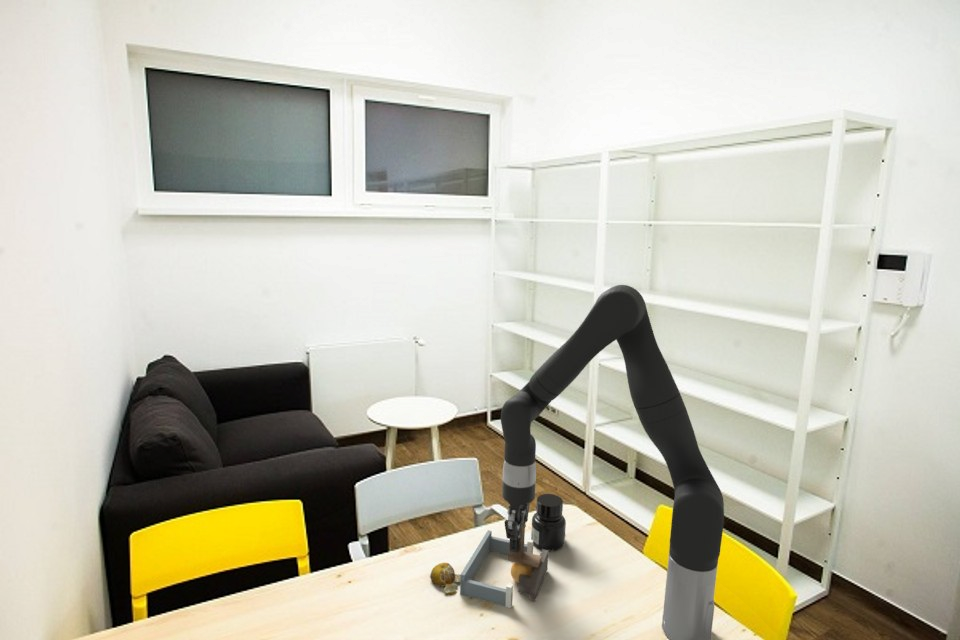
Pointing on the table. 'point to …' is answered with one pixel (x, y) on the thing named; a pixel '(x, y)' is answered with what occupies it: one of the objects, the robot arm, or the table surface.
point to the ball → (520, 571)
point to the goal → (474, 564)
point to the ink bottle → (548, 523)
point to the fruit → (445, 577)
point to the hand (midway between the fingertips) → (516, 546)
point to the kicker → (537, 563)
